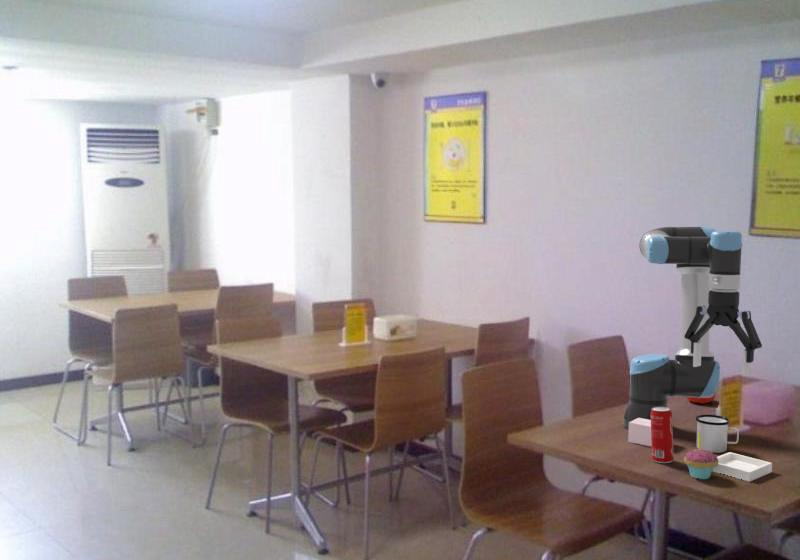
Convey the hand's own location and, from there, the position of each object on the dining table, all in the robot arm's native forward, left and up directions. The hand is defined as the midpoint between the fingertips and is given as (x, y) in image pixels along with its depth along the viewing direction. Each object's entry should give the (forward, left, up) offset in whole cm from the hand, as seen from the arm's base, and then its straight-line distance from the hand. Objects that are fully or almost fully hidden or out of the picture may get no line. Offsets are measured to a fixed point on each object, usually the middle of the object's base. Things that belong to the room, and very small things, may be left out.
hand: (720, 370), depth 210 cm
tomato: (-45, +67, -28) cm, 85 cm away
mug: (-12, +20, -28) cm, 37 cm away
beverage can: (-16, -2, -28) cm, 32 cm away
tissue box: (-28, +10, -28) cm, 41 cm away
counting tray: (+2, +7, -28) cm, 29 cm away
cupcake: (-2, -5, -28) cm, 29 cm away
